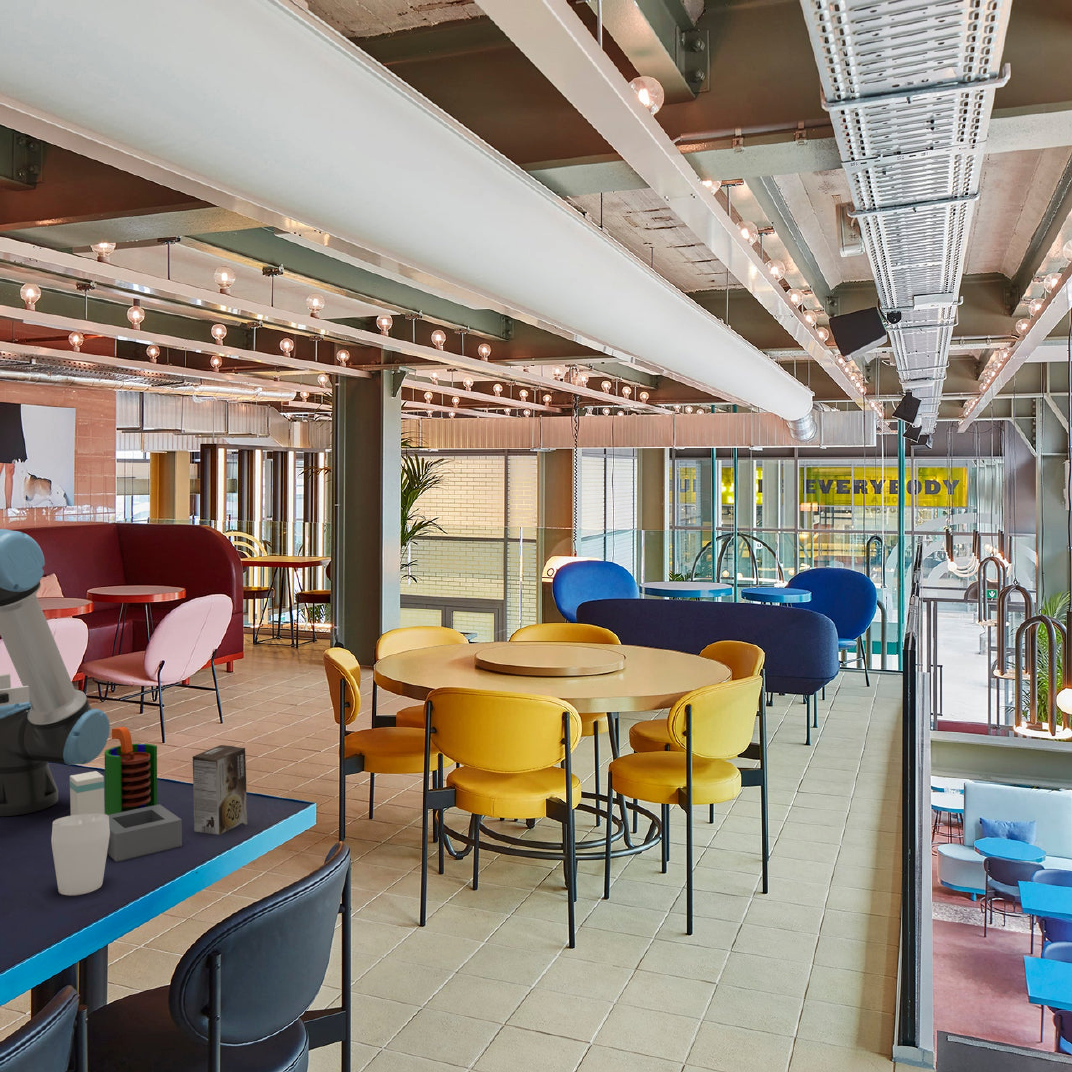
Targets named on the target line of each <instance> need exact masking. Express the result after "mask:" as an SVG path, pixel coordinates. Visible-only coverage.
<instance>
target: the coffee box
mask: <svg viewBox="0 0 1072 1072" xmlns="http://www.w3.org/2000/svg"><path fill="white" fill-rule="evenodd" d="M246 760H247V759H246V747H238V746H235V745H225V744H221V745H218V746H215V747H213V748H210V749H208V750H204V751H202V752H200V753H198V754H195V755H192V783H193V784H192V786H193V787H192V788H193V789H192V790H193V826H194V828H193V829H194V832H198V833H204V834H209V835H210V834H211V835H212V834H213V835H222V834H224V833H227V832H228V831H230V830H232V829H233V828H236V827H238V826H239V825H241V824H244V825H245V826H247V825H248V799H247V797H248V795H247V794H248V793H247V765H246V764H247V763H246Z"/></svg>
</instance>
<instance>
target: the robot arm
mask: <svg viewBox="0 0 1072 1072" xmlns="http://www.w3.org/2000/svg"><path fill="white" fill-rule="evenodd" d="M45 565H46V562H45V556H44V553H43V550H42V549H41V547H40V544H38V542H37V541H36V540H35V539H34V538H33V537H31V536H30V535H28V534H27V533H24V532H22V531H18V530H11V529H6V528H0V637H1V639H2V642H3V644H4V646H5V649H6V651H7V653H8V655H9V658H10V661H11V662H12V665H13V666H14V669H15V671H16V674H17V676H18V678H19V681H20V682H21V685H22V686H17V687H12V684H11V682H12V681H11V674H10V673H7V674H0V817H12V816H18V815H20V816H21V815H27V814H30V813H35V812H39V811H42V810H45V809H48V808H50V807H52V806H54V805H55V804H57V803H58V802H59V788H58V786H57V784H56V782H55V780H54V776H53V774H52V772H51V769H50V767H49V765H50V764H49V763H55V764H63V765H64V764H65V765H70V766H72V765H87V764H90V763H92V762H93V761H95V760H96V759H97V758H98V757H99V756H100V755H101V754H102V752H103V751H104V748H105V747H106V745H107V742H108V739H109V737H110V736H109V735H110V731H111V730H110V729H111V727H110V726H111V725H110V720H109V716H108V715H107V714H106V712H104V711H103V710H100V709H99V708H92V707H91V705H90V702H89V699H88V697H87V695H86V694H85V692H84V691H82V690H78V689H76V688H75V687H74V684H73V681H72V679H71V676H70V674H69V672H68V670H67V667H66V664H65V662H64V660H63V657H62V655H61V653H60V650H59V647H58V646H57V643H56V640H55V637H54V635H53V633H52V630H51V628H50V626H49V623H48V621H47V618H46V615H45V613H44V610H43V608H42V606H41V604H40V601H39V598H38V597H37V594H38V592H39V590H40V589H41V588H42V587H41V585H42V584H41V580H42V578H43V576H44V573H45V571H44V569H43V567H45Z"/></svg>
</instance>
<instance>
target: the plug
mask: <svg viewBox="0 0 1072 1072" xmlns="http://www.w3.org/2000/svg"><path fill="white" fill-rule="evenodd" d="M69 794H70V795H69V797H70V801H69V803H70V816H72V815H78V814H90V813H98V814H105V775H103V774H101V773H100V772H98V771H97V770H94V771H89V772H83V773H77V774H72V775H69Z"/></svg>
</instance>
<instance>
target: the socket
mask: <svg viewBox="0 0 1072 1072" xmlns="http://www.w3.org/2000/svg"><path fill="white" fill-rule="evenodd" d="M108 816H109V829H110V837H109V844H108V850H107V856H109V857H110V858H111V859H113V861H115V862H121V861H127V860H129V859H134V858H138V857H142V856H143V857H144V856H146V855H151V854H155V853H159V852H163V851H167V850H170V849H175V848H180V847H183V825H182V824H183V822H182V821H183V820H182V818H181V817H179V816H177V815H176V814H174V813H173V812H171V811H170V810H169V809H167V808H165V807H164V806H163V805H161V804H160V803H159V804H158V803H157V805H153V806H149V807H144V808H139V809H134V810H130V811H125V812H120V813H115V814H111V815H108Z"/></svg>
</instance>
